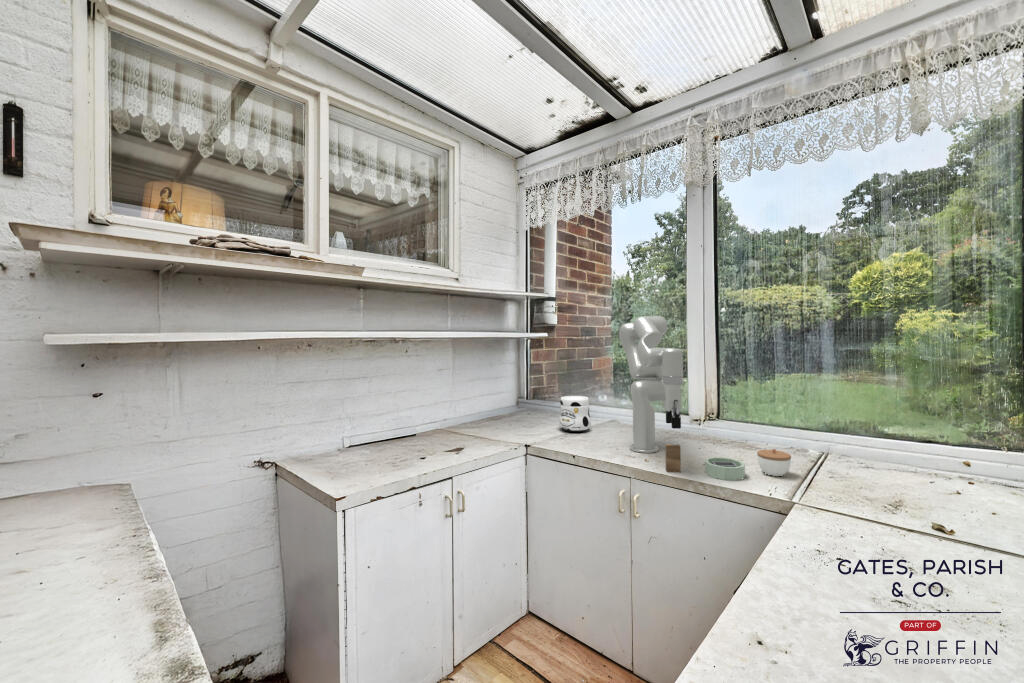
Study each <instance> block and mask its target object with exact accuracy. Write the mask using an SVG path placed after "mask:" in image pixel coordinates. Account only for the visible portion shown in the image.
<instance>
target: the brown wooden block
mask: <svg viewBox="0 0 1024 683" xmlns="http://www.w3.org/2000/svg"><path fill="white" fill-rule="evenodd" d="M664 454H665V471H666V472H667V473H681V472H682V470H681V469H682V468H681V466H682V464H681V463H682V462H681V461H682V460H681V459H682V455H681V445H680V444H671V443H670V444H666V443H665V453H664Z"/></svg>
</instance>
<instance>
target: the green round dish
mask: <svg viewBox="0 0 1024 683" xmlns="http://www.w3.org/2000/svg"><path fill="white" fill-rule="evenodd" d="M705 472H706V473H707V474H706V473H705ZM704 473H705V474H706V476H708V475H710V476H709V477H711V476H712V477H711V478H713V477H715V478H714V479H717V478H719V479H718V480H722V479H725V480H724V481H735V480H736V481H738V480H737V479H741V480H743V479H742V478H744V479H745V477H746V464H745V463H744V462H743V461H741V460H737V459H735V458H730V457H729V458H728V457H718V456H716V457H714V456H713V457H712V456H711V457H707V458H706V459H705V460H704ZM744 476H745V477H744Z"/></svg>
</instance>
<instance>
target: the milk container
mask: <svg viewBox="0 0 1024 683" xmlns="http://www.w3.org/2000/svg"><path fill="white" fill-rule="evenodd" d="M589 401H590V399H589V397H588V396H586V395H585V396H584V395H564V396H561V397H560V401H559V402H560V406H559V407H560V413H559V414H560V415H559V419H558V424H559V428H560V429H561V430H562V431H565V432H569V433H570V432H571V433H572V432H573V433H582V432H586V431H588V430H590V429H591V426H592V420H591V416H590V402H589Z"/></svg>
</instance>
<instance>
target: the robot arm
mask: <svg viewBox="0 0 1024 683" xmlns="http://www.w3.org/2000/svg"><path fill="white" fill-rule="evenodd" d="M667 330H668V322H667V320H666V319H665V317H663V316H660V315H642V316H639V317H637V318H635V319H634V320H633V322H627V323H623V324H622V325H621V326H620V327H619V331H618V336H619V337H618V338H619V341H620V344H621V346H622V349H623V350H624V352H625V355H626V360H627V365H628V369H629V373H630V376H631V377H632V379H635V381H633V382H632V383H631V385H630V389H629V390H630V395H631V403H632V444H630V445H629V450H631V451H633V452H637V453H642V454H643V453H644V454H650V453H651V454H652V453H657V452H659V450H660V448H659V446H657V445H656V425H655V424H656V415H655V409H654V407H653V406H652V405H651V403H650V402H657V401H658V402H660V401H661V402H662V407H663V409H664V410H665V423H666V424H671V428H672V429H681V428H682V423H681V422H682V417H681V411H682V389H681V388H682V387H681V386H684V358H683V357H684V355H683V351H682V349H681V348H673V347H656V346H658V345H660V343H661V342H662V338H663V336H664V335H665V334H666V333H667ZM637 341H638V342H637Z"/></svg>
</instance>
